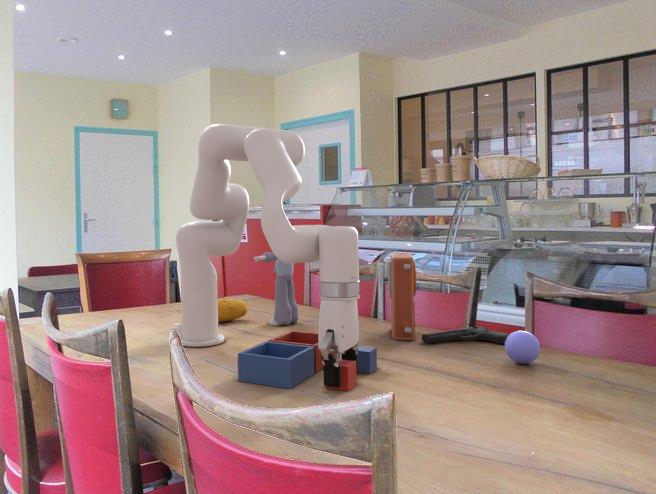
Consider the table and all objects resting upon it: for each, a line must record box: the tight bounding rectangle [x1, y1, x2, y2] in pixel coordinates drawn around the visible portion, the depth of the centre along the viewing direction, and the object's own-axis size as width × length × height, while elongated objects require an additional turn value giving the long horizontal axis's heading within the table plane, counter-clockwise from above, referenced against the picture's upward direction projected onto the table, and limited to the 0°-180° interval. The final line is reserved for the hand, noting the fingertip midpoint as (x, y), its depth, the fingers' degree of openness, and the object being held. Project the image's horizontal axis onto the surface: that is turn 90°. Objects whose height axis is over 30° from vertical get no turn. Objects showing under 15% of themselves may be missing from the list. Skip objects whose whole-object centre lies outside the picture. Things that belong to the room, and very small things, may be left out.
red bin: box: [267, 330, 337, 373], centre depth 129 cm, size 12×12×6 cm
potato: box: [218, 298, 249, 323], centre depth 179 cm, size 8×14×7 cm, turn 108°
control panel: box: [387, 253, 417, 341], centre depth 155 cm, size 21×7×15 cm
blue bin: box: [237, 341, 315, 389], centre depth 118 cm, size 12×12×6 cm
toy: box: [253, 251, 299, 326], centre depth 174 cm, size 30×8×30 cm, turn 144°
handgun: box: [421, 325, 511, 345], centre depth 145 cm, size 3×20×12 cm
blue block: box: [355, 344, 378, 375], centre depth 122 cm, size 5×5×5 cm
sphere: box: [504, 330, 541, 365], centre depth 125 cm, size 7×7×7 cm
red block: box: [325, 358, 358, 392], centre depth 111 cm, size 5×5×5 cm
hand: (341, 379), depth 111 cm, fingers open, 8 cm apart
